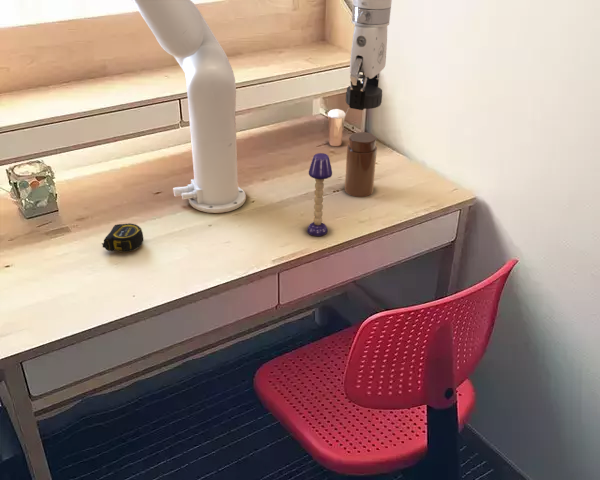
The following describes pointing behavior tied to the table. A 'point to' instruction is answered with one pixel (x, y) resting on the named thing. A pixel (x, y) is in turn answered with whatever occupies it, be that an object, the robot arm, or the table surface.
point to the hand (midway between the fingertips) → (363, 102)
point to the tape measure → (124, 238)
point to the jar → (360, 164)
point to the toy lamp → (319, 191)
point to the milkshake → (336, 126)
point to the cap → (369, 96)
